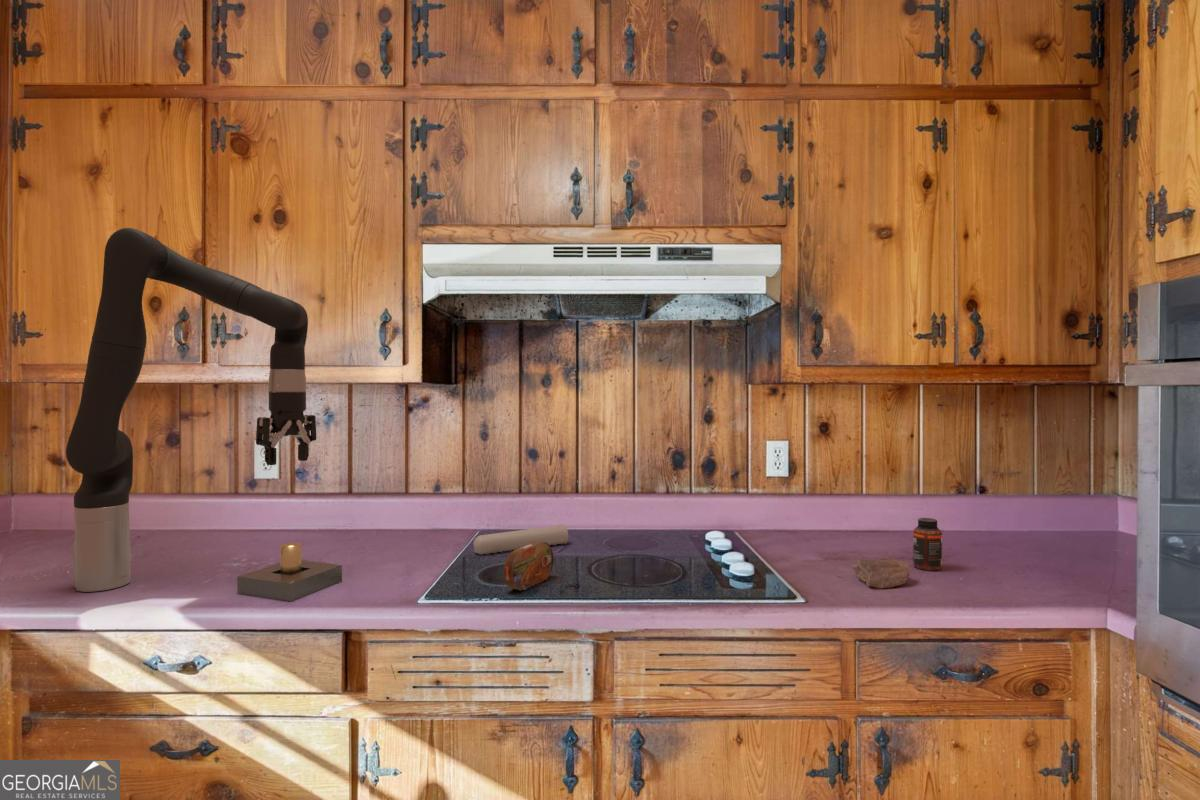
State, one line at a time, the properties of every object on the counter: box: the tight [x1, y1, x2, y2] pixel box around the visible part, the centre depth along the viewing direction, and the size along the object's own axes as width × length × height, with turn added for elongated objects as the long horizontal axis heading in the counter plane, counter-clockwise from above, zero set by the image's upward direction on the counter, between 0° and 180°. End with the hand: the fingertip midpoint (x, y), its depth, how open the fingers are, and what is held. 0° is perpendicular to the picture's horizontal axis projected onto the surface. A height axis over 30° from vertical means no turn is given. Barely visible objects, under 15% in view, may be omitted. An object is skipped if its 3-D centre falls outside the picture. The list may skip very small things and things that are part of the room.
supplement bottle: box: [912, 517, 943, 572], centre depth 150 cm, size 6×6×11 cm
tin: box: [503, 542, 554, 592], centre depth 138 cm, size 15×3×8 cm, turn 151°
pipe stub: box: [279, 541, 302, 575], centre depth 136 cm, size 4×4×9 cm
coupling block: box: [236, 559, 343, 602], centre depth 136 cm, size 14×14×4 cm
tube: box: [472, 523, 569, 556], centre depth 168 cm, size 5×5×25 cm
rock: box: [852, 557, 911, 589], centre depth 140 cm, size 12×10×5 cm
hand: (287, 462), depth 145 cm, fingers open, 8 cm apart
